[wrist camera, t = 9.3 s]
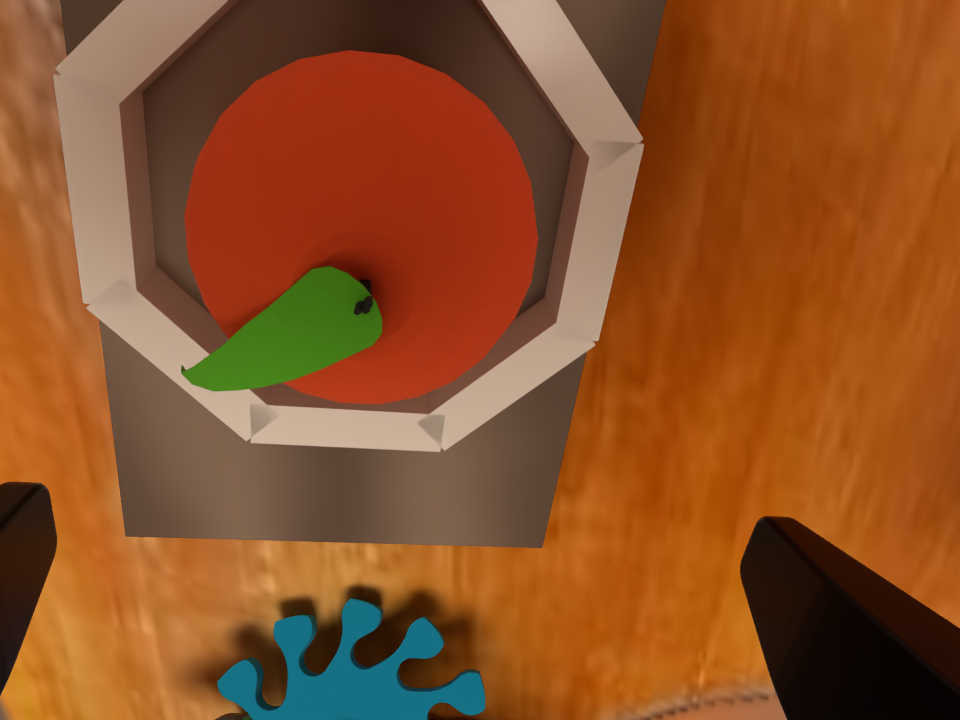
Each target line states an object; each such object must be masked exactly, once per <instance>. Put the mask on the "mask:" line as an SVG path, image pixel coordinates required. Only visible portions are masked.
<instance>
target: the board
mask: <svg viewBox="0 0 960 720" xmlns="http://www.w3.org/2000/svg"><path fill="white" fill-rule="evenodd" d="M122 1H123V0H60V2H61V10H62V18H63V26H64V35H65V43H66V51H67V56H68V55H69V54H70V53H71V52H72V51H73V50H74V49H75V48H76V47H77V46H78V45H79V44H80V43H81V42H82V41H83V40H84V39H85V38H86V37H87V36H88V35H89V34H90V33H91V32H92V31H93V30H94V29H95V28H96V27H97V26H98V25H99V24H100V23H101V22H102V21H103V20H104V19H105V18H106V17H107V16H108V15H109V14H110V13H111V12H112V11H113V10H114V9H115V8H116V7H117V6H118V5H119V4H120V3H121V2H122ZM556 1H557V3H558V4H559V6H560V8H561V9H562V11H563V12H564V14H565V16H566V17H567V19H568V20H569V22H570V23H571V25H572V27H573V28H574V30H575V31H576V33H577V34H578V36H579V38H580V39H581V41H582V42H583V44H584V46H585V47H586V49H587V50H588V52H589V53H590V55H591V57H592V58H593V60H594V61H595V63H596V64H597V66H598V68H599V69H600V71H601V72H602V74H603V76H604V77H605V79H606V80H607V82H608V83H609V85H610V87H611V88H612V90H613V91H614V93H615V94H616V96H617V98H618V99H619V101H620V102H621V104H622V106H623V107H624V109H625V110H626V112H627V113H628V115H629V117H630V118H631V120H632V121H633V123H634V125H635V126H636V128H637V127H638V122H639V118H640V113H641V109H642V105H643V100H644V96H645V91H646V87H647V83H648V78H649V74H650V69H651V65H652V60H653V56H654V52H655V47H656V43H657V38H658V34H659V30H660V25H661V21H662V16H663V12H664V7H665V3H666V0H556ZM347 50H352V51H362V52H372V53H381V54H391V55H400V56H402V57H405V58H407V59H410V60H412V61H415V62H417V63H420V64H423V65H425V66H428V67H430V68H433V69H435V70H438V71H440V72H443V73H445V74H447V75H448V76H450V77H451V78H452V79H454V80H455V81H456V82H458V83H459V84H460V85H462V86H463V87H464V88H466V89H467V90H468V91H470V92H471V93H472V94H474V95H475V96H476V97H478V98H479V99H480V100H482V101H483V102H484V103H485V104H486V105H487V106H488V108H489V109H490V110H491V111H492V113H493V114H494V115H495V117H496V118H497V119H498V120H499V122H500V123H501V124H502V126H503V127H504V128H505V130H506V131H507V132H508V133H509V135H510V136H511V137H512V139H513V140H514V142H515V144H516V147H517V149H518V152H519V154H520V156H521V159H522V161H523V164H524V166H525V169H526V171H527V173H528V176H529V178H530V181H531V186H532V194H533V202H534V210H535V219H536V227H537V235H538V243H537V250H536V256H535V263H534V270H533V276H532V281H531V284H530V286H529V288H528V290H527V293H526V295H525V297H524V300H523V302H522V304H521V306H520V309H519V311H518V313H517V315H516V318H517V317H518V316H520V315H521V314H522V313H524V312H525V311H527V310H528V309H529V308H531V307H532V306H533V305H535V304H536V303H538V302H539V301H540V300H542V299H543V298H544V297H545V293H546V288H547V283H548V277H549V272H550V267H551V262H552V256H553V251H554V246H555V240H556V235H557V230H558V225H559V219H560V214H561V209H562V203H563V198H564V193H565V187H566V182H567V177H568V172H569V166H570V161H571V156H572V150H573V145H574V141H573V140H572V139H571V137H570V136H569V134H568V133H567V131H566V130H565V128H564V127H563V125H562V124H561V123H560V121H559V120H558V118H557V117H556V115H555V114H554V112H553V111H552V109H551V108H550V107H549V105H548V104H547V102H546V101H545V99H544V98H543V96H542V95H541V93H540V92H539V91H538V89H537V88H536V86H535V85H534V83H533V82H532V80H531V79H530V77H529V76H528V75H527V73H526V72H525V70H524V69H523V67H522V66H521V64H520V63H519V61H518V60H517V59H516V57H515V56H514V54H513V53H512V51H511V50H510V48H509V47H508V45H507V44H506V42H505V41H504V40H503V38H502V37H501V35H500V34H499V32H498V31H497V29H496V28H495V26H494V25H493V24H492V22H491V21H490V19H489V18H488V16H487V15H486V13H485V12H484V10H483V9H482V8H481V6H480V5H479V3H478V2H477V0H239V1H238V2H237V3H236V4H235V5H234V6H233V7H231V8H230V9H229V10H228V11H227V12H226V13H225V14H224V15H223V16H222V17H221V18H220V19H219V20H218V21H217V22H216V23H215V24H214V25H212V26H211V27H210V28H209V29H208V30H207V31H206V32H205V33H204V34H203V35H202V36H201V37H200V38H199V39H198V40H197V41H196V42H195V43H193V44H192V45H191V46H190V47H189V48H188V49H187V50H186V51H185V52H184V53H183V54H182V55H181V56H180V57H179V58H178V59H177V60H176V61H174V62H173V63H172V64H171V65H170V66H169V67H168V68H167V69H166V70H165V71H164V72H163V73H162V74H161V75H160V76H159V77H158V78H156V79H155V80H154V81H153V82H152V83H151V84H150V85H149V86H148V87H147V88H146V89H145V90H144V91H143V92H142V94H143V107H144V119H145V132H146V145H147V157H148V170H149V183H150V195H151V208H152V221H153V234H154V246H155V259H156V266H157V267H158V268H160V269H161V270H162V271H163V272H164V273H165V274H166V275H167V276H168V277H169V278H171V279H172V280H173V281H174V282H175V283H176V284H177V285H178V286H179V287H181V288H182V289H183V290H184V291H185V292H186V293H187V294H188V295H189V296H190V297H192V298H193V299H194V300H195V301H196V302H197V303H198V304H199V305H200V306H201V307H203V308H204V309H205V310H206V311H207V312H208V313H209V314H210V315H211V313H210V311H209V310H208V308H207V306H206V304H205V303H204V301H203V298H202V295H201V293H200V290H199V287H198V285H197V282H196V279H195V277H194V274H193V272H192V269H191V266H190V264H189V261H188V252H187V241H186V229H185V218H184V214H185V209H186V205H187V200H188V195H189V190H190V185H191V180H192V175H193V171H194V168H195V165H196V162H197V159H198V156H199V154H200V152H201V150H202V148H203V146H204V145H205V143H206V141H207V139H208V137H209V135H210V134H211V132H212V130H213V128H214V126H215V125H216V123H217V121H218V119H219V117H220V115H221V114H222V113H223V112H224V111H225V110H226V109H227V108H228V107H229V106H230V105H231V104H233V103H234V102H235V101H236V100H237V99H238V98H239V97H240V96H241V95H242V94H243V93H244V92H245V91H246V90H247V89H248V88H249V87H250V86H251V85H252V84H253V83H254V82H255V81H257V80H259V79H261V78H263V77H265V76H267V75H269V74H271V73H273V72H275V71H277V70H279V69H281V68H283V67H285V66H287V65H289V64H291V63H293V62H295V61H297V60H299V59H303V58H308V57H314V56H320V55H325V54H331V53H336V52H342V51H347ZM211 316H212V315H211ZM212 317H213V316H212ZM516 318H515V319H516ZM99 322H100V330H101V339H102V347H103V355H104V363H105V371H106V380H107V388H108V396H109V404H110V412H111V421H112V429H113V437H114V445H115V454H116V462H117V470H118V478H119V486H120V495H121V503H122V511H123V519H124V527H125V536H129V537H166V538H202V539H238V540H274V541H311V542H347V543H383V544H419V545H456V546H492V547H528V548H542V546H543V542H544V538H545V533H546V529H547V524H548V520H549V515H550V511H551V507H552V502H553V498H554V493H555V489H556V485H557V480H558V476H559V471H560V467H561V462H562V458H563V454H564V449H565V445H566V440H567V436H568V431H569V427H570V423H571V418H572V414H573V409H574V405H575V401H576V396H577V392H578V387H579V383H580V378H581V374H582V370H583V365H584V361H585V356H586V352H585V353H584V354H582V355H581V356H579V357H578V358H577V359H575V360H574V361H572V362H571V363H569V364H568V365H567V366H565V367H564V368H562V369H561V370H559V371H558V372H557V373H555V374H554V375H552V376H551V377H549V378H548V379H547V380H545V381H544V382H542V383H541V384H539V385H538V386H537V387H535V388H534V389H532V390H531V391H529V392H528V393H527V394H525V395H524V396H522V397H521V398H519V399H518V400H517V401H515V402H514V403H512V404H511V405H509V406H508V407H507V408H505V409H504V410H502V411H501V412H499V413H498V414H497V415H495V416H494V417H492V418H491V419H489V420H488V421H487V422H485V423H484V424H482V425H481V426H479V427H478V428H477V429H475V430H474V431H472V432H471V433H469V434H468V435H467V436H465V437H464V438H462V439H461V440H459V441H458V442H457V443H455V444H454V445H452V446H451V447H449V448H448V449H447V450H445V451H444V450H443V449H442V448H441V450H440V452H429V451H408V450H387V449H366V448H345V447H324V446H303V445H282V444H261V443H251V438H250V439H249V440H247V441H245V440H244V439H243V438H242V437H240V436H239V435H238V434H237V433H236V432H234V431H233V430H232V429H231V428H230V427H228V426H227V425H226V424H225V423H224V422H222V421H221V420H220V419H219V418H218V417H216V416H215V415H214V414H213V413H212V412H210V411H209V410H208V409H207V408H206V407H204V406H203V405H202V404H201V403H199V402H198V401H197V400H196V399H195V398H193V397H192V396H191V395H190V394H189V393H187V392H186V391H185V390H184V389H183V388H181V387H180V386H179V385H178V384H177V383H175V382H174V381H173V380H172V379H171V378H169V377H168V376H167V375H166V374H165V373H163V372H162V371H161V370H160V369H159V368H157V367H156V366H155V365H154V364H153V363H151V362H150V361H149V360H148V359H147V358H145V357H144V356H143V355H142V354H141V353H139V352H138V351H137V350H136V349H135V348H133V347H132V346H131V345H130V344H128V343H127V342H126V341H125V340H124V339H122V338H121V337H120V336H119V335H118V334H116V333H115V332H114V331H113V330H112V329H110V328H109V327H108V326H107V325H106V324H104V323H103V322H102V321H101V320H100V319H99Z"/></svg>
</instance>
